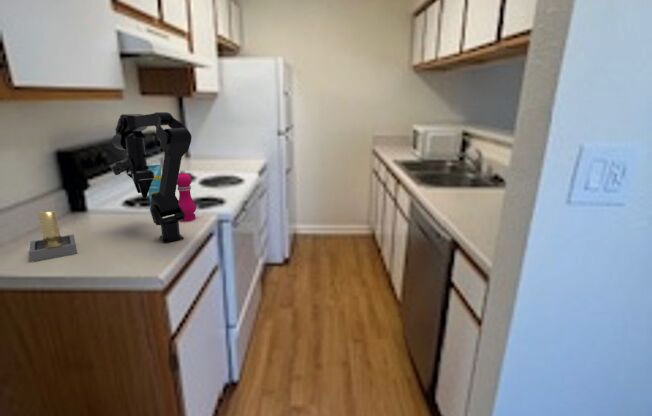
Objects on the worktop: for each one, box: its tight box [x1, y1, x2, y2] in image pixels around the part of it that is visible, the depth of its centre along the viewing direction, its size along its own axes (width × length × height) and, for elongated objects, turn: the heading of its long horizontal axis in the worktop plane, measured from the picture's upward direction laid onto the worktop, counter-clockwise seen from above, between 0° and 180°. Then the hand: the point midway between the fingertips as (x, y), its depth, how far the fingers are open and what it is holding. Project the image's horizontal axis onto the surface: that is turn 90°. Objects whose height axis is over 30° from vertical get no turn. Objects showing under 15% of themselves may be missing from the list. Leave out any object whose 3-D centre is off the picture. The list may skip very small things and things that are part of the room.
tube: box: [147, 164, 162, 206], centre depth 167 cm, size 7×5×19 cm, turn 103°
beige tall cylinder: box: [37, 209, 62, 248], centre depth 118 cm, size 4×4×13 cm
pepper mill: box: [176, 169, 197, 222], centre depth 150 cm, size 7×7×20 cm
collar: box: [28, 234, 78, 263], centre depth 119 cm, size 11×11×3 cm
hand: (142, 195), depth 136 cm, fingers open, 9 cm apart
